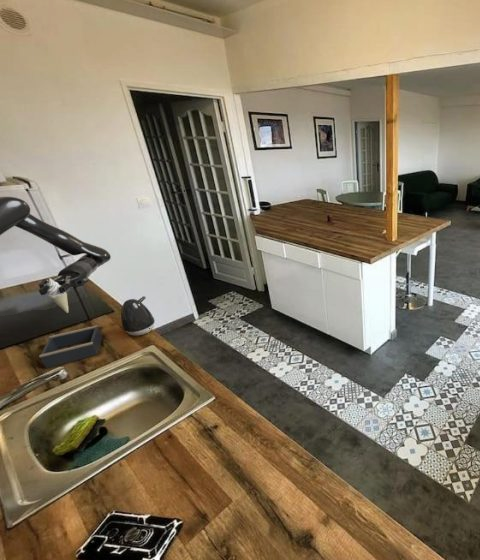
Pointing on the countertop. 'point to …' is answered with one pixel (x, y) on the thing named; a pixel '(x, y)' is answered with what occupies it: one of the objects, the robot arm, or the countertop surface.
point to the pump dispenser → (136, 317)
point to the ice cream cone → (57, 295)
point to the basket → (57, 357)
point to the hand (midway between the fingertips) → (51, 291)
